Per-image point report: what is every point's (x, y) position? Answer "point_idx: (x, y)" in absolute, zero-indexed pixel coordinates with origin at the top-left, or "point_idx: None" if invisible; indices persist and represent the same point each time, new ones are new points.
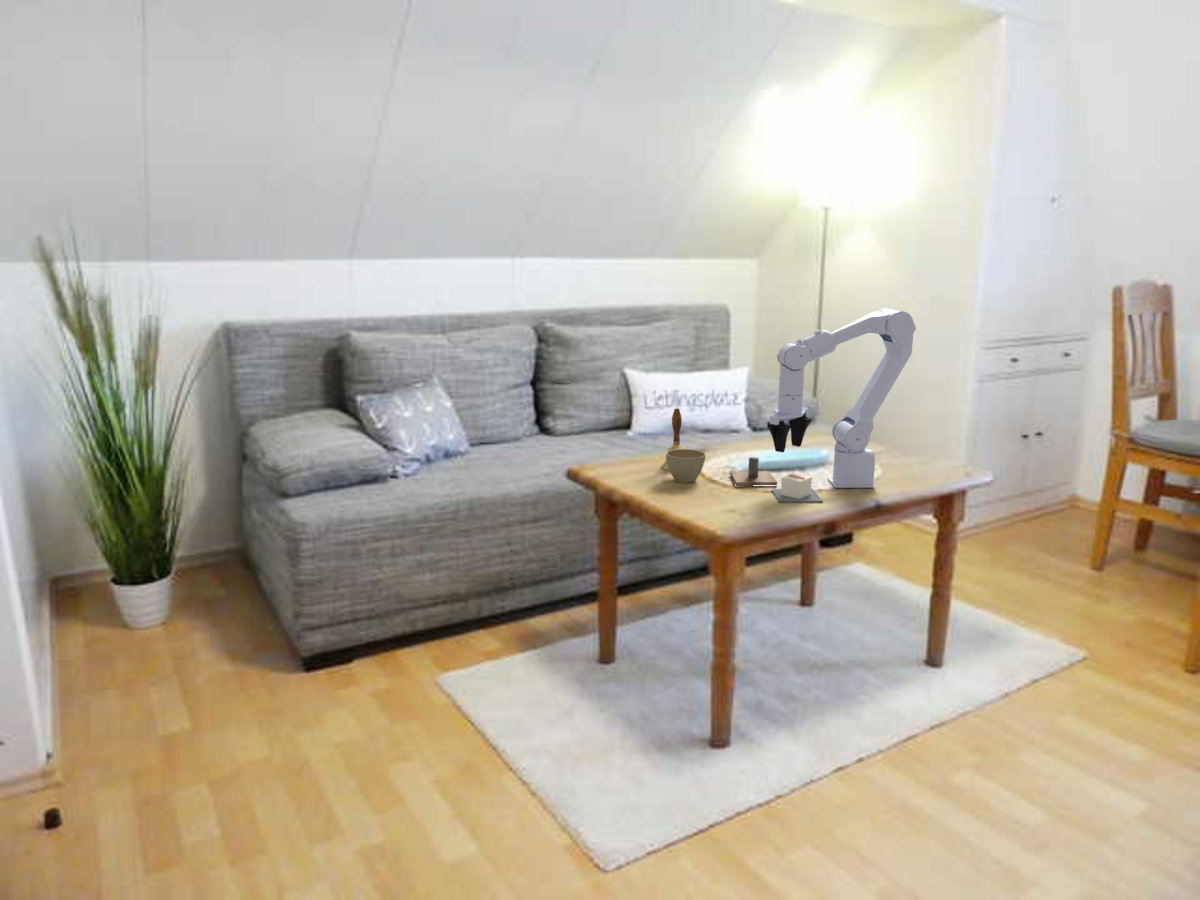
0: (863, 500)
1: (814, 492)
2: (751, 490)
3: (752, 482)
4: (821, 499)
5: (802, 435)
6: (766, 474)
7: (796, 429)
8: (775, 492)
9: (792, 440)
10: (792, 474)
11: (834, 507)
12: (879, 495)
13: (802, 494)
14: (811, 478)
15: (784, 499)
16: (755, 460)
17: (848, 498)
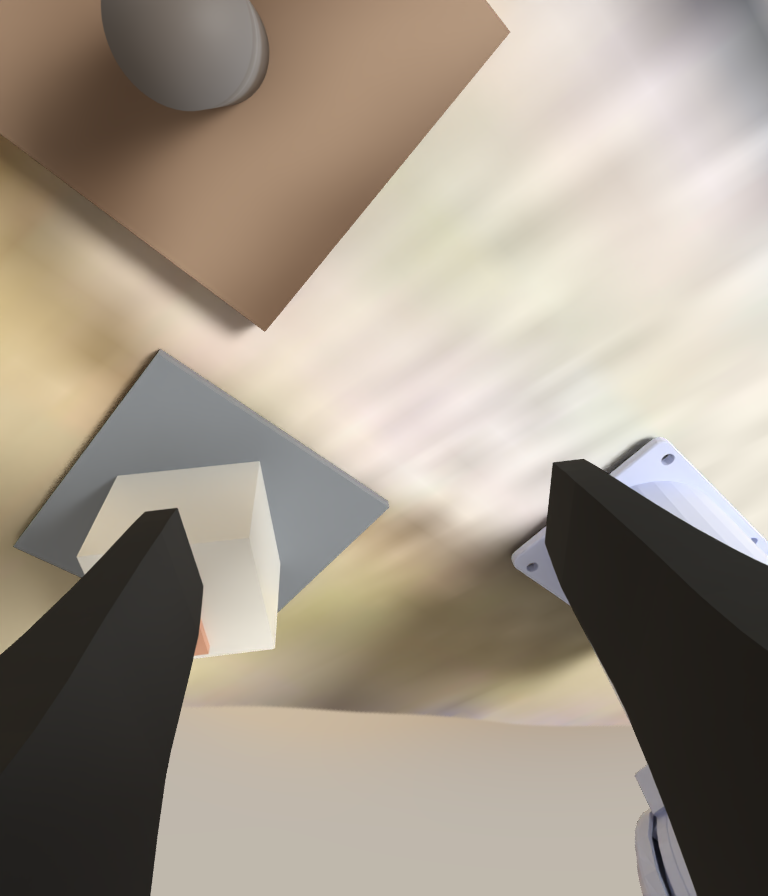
0: (417, 699)
1: (327, 556)
2: (13, 245)
3: (73, 185)
4: None
5: (618, 679)
6: (389, 100)
7: (669, 685)
8: (118, 427)
9: (581, 504)
10: (218, 551)
11: (225, 696)
12: (533, 694)
13: None
14: (274, 642)
15: (63, 543)
16: (157, 97)
17: (395, 660)
